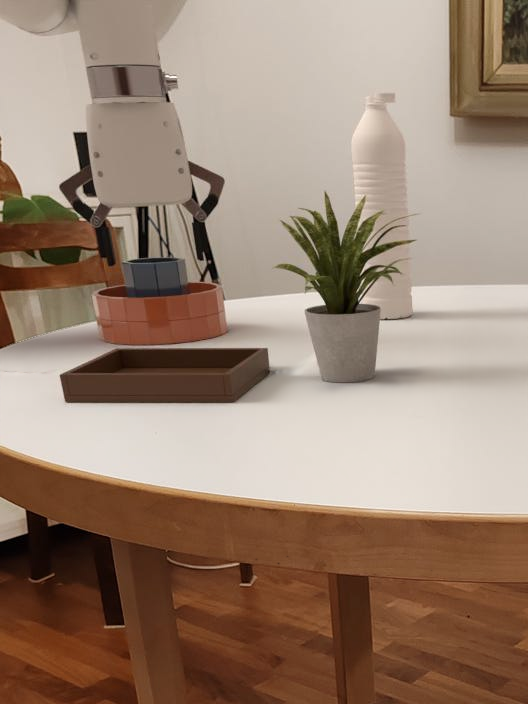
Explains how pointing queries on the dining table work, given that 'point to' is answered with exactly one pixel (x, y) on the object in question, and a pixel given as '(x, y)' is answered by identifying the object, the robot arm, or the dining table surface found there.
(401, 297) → the water bottle
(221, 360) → the tray
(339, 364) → the house plant
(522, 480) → the dining table surface
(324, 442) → the dining table surface
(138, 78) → the robot arm
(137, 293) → the cup
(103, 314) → the bowl
